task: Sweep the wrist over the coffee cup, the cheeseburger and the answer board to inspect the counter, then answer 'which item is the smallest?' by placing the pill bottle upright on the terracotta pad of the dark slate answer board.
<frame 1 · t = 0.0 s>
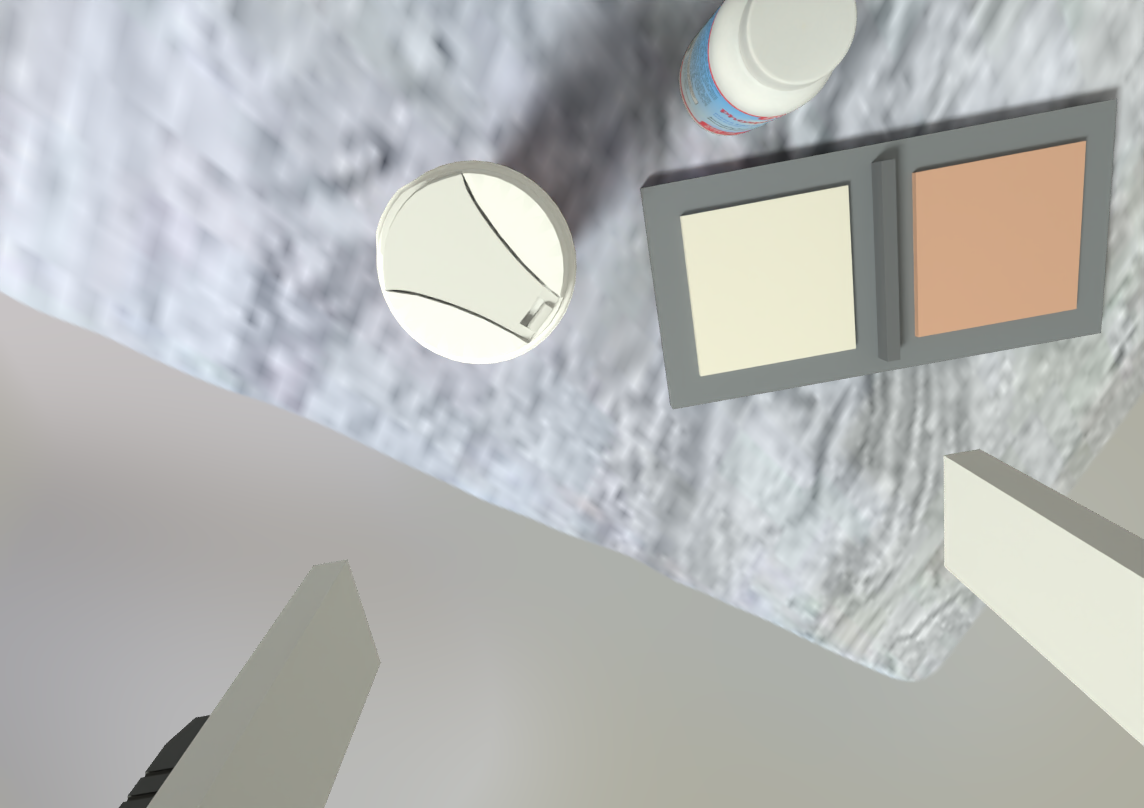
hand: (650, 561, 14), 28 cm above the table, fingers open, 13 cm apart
coffee cup: (502, 248, 39), on the table
pill bottle: (728, 81, 37), on the table
answer board: (873, 262, 40), on the table
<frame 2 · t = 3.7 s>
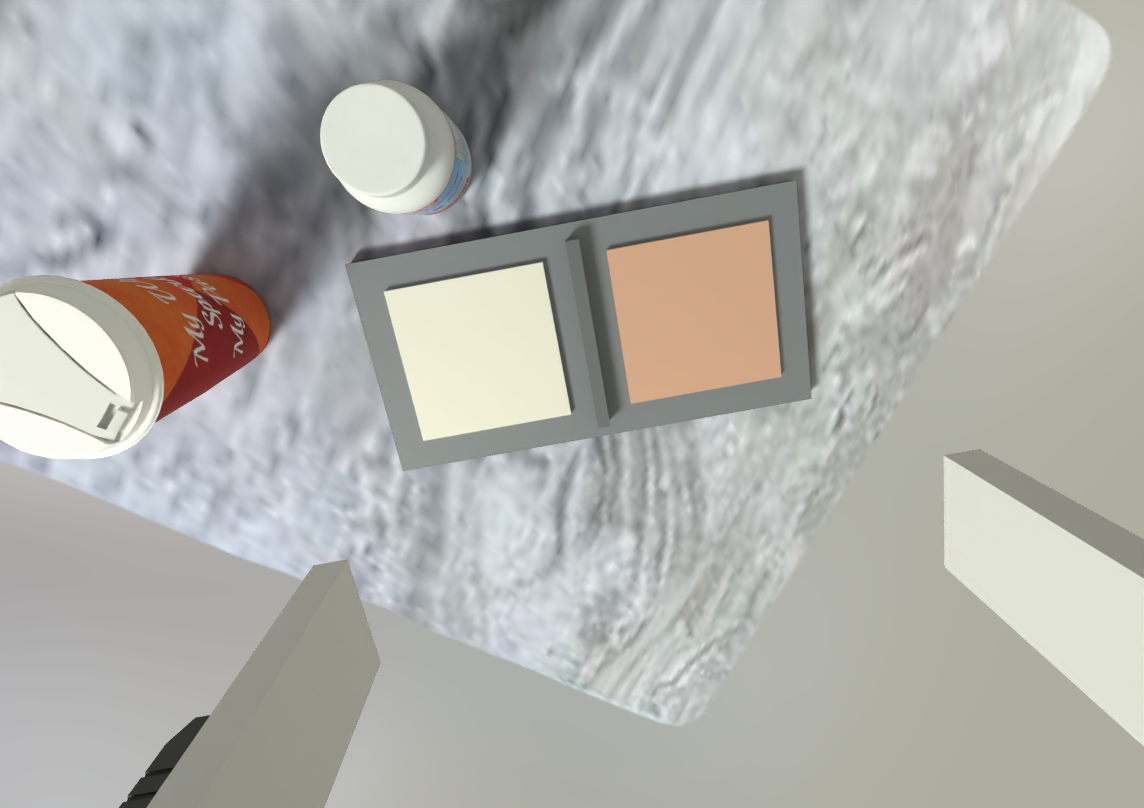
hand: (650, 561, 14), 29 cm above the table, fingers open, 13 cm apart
coffee cup: (224, 319, 40), on the table
pill bottle: (424, 162, 38), on the table
answer board: (587, 331, 41), on the table
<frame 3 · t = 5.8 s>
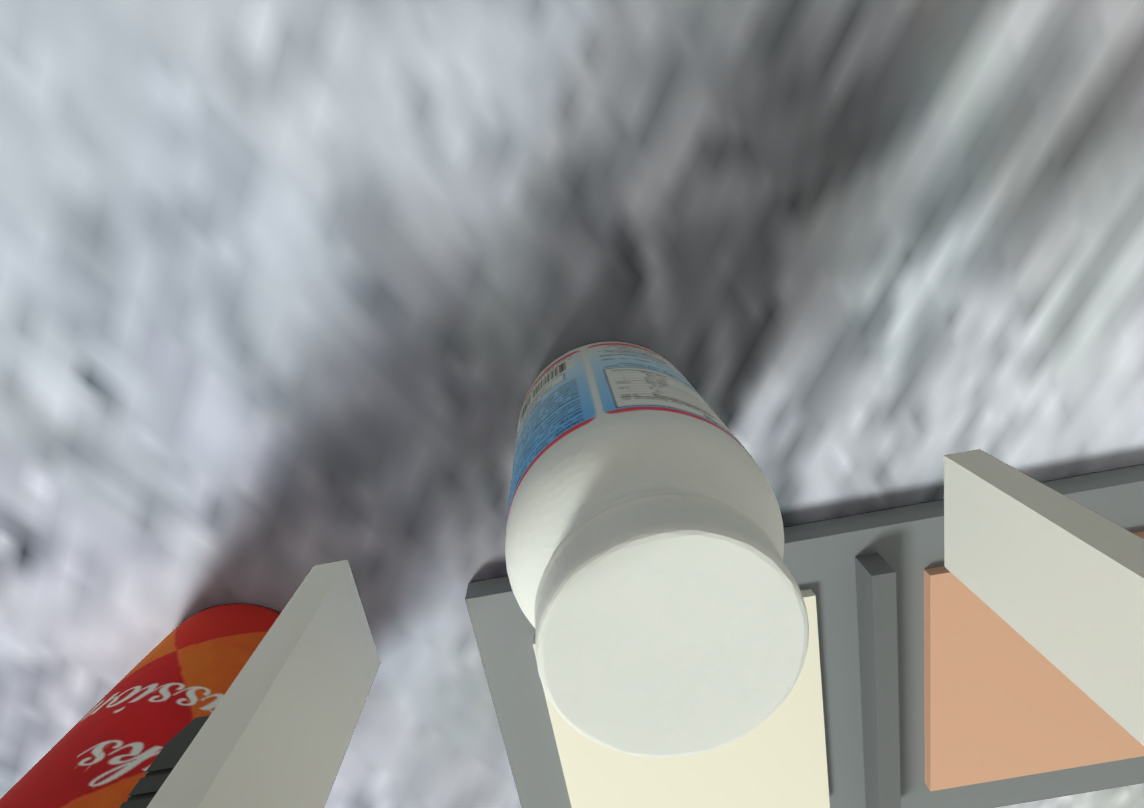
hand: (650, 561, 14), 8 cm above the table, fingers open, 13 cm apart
coffee cup: (248, 665, 24), on the table
pill bottle: (609, 423, 21), on the table
answer board: (858, 672, 25), on the table
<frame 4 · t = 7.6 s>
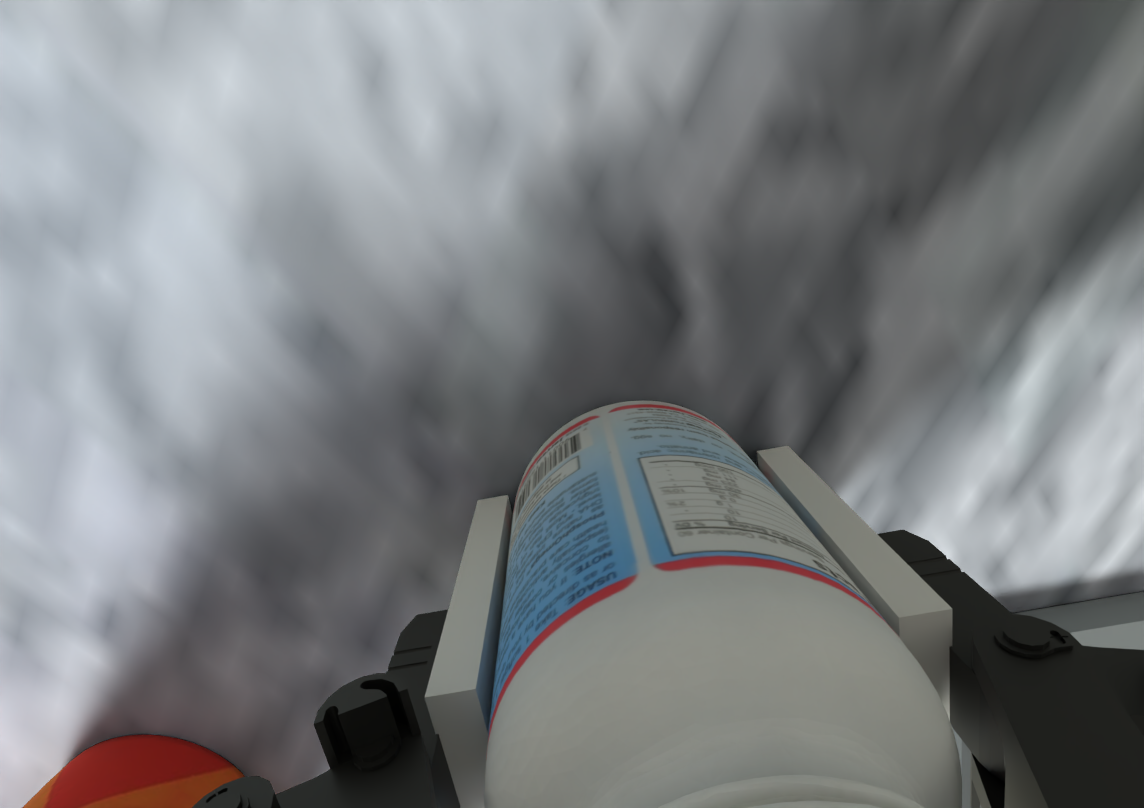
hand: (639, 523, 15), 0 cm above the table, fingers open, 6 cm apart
coffee cup: (163, 807, 18), on the table
pill bottle: (636, 505, 16), on the table, touching gripper
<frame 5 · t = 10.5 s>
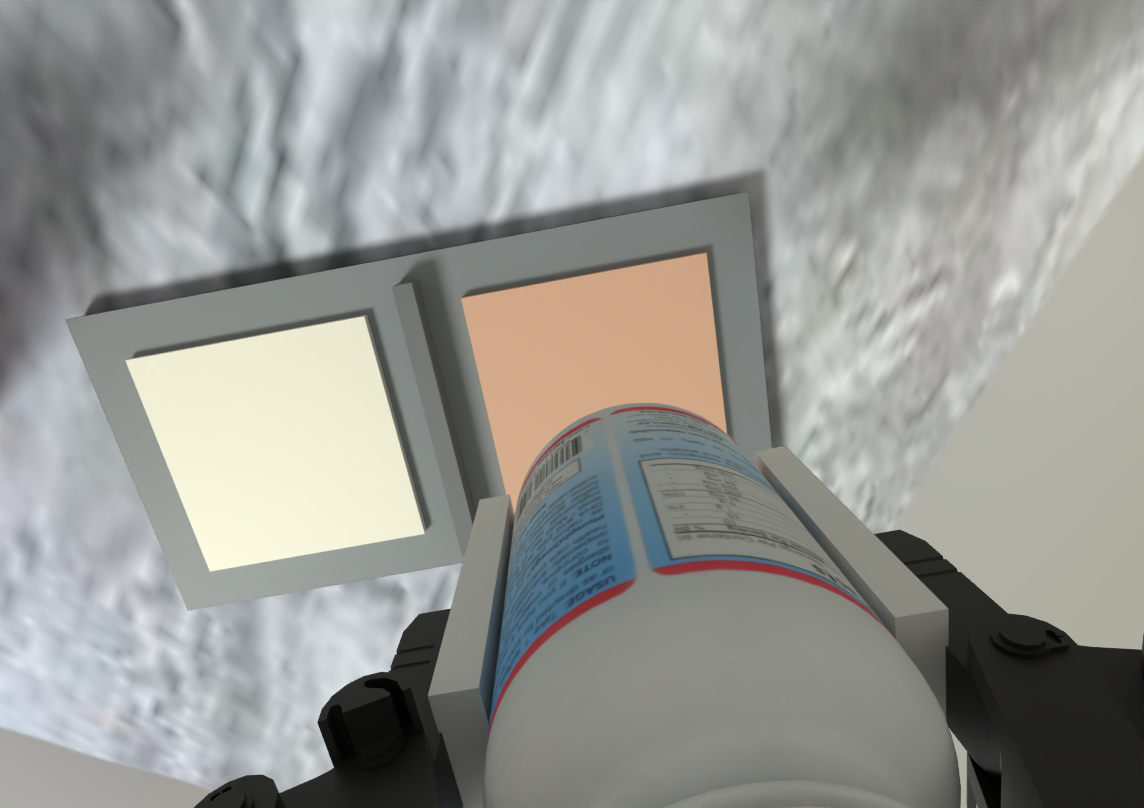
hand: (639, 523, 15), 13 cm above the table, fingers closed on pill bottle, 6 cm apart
pill bottle: (638, 507, 16), point 12 cm above the table, touching gripper
answer board: (447, 412, 28), on the table
when the fingers open (3 cm above the table, at t = 12.9 s): pill bottle drops 1 cm, resting on answer board.
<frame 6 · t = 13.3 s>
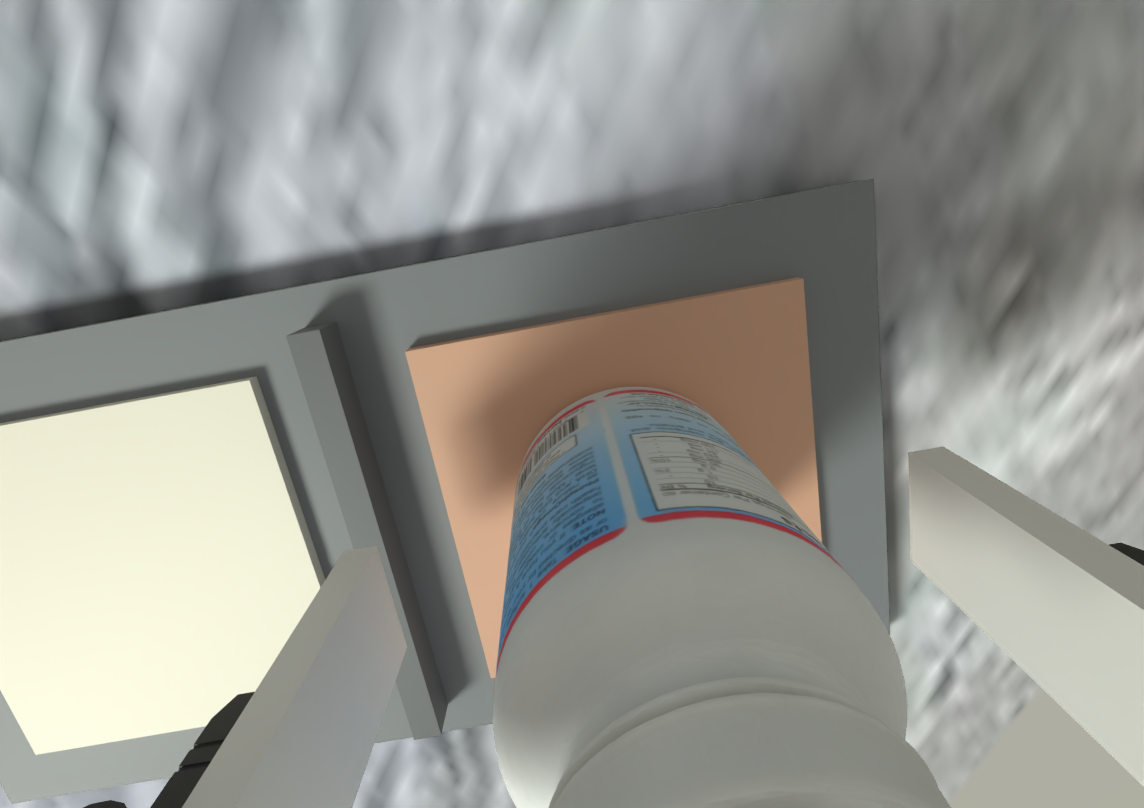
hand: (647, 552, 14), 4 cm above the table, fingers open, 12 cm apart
pill bottle: (630, 486, 17), point 1 cm above the table, touching answer board
answer board: (392, 517, 18), on the table
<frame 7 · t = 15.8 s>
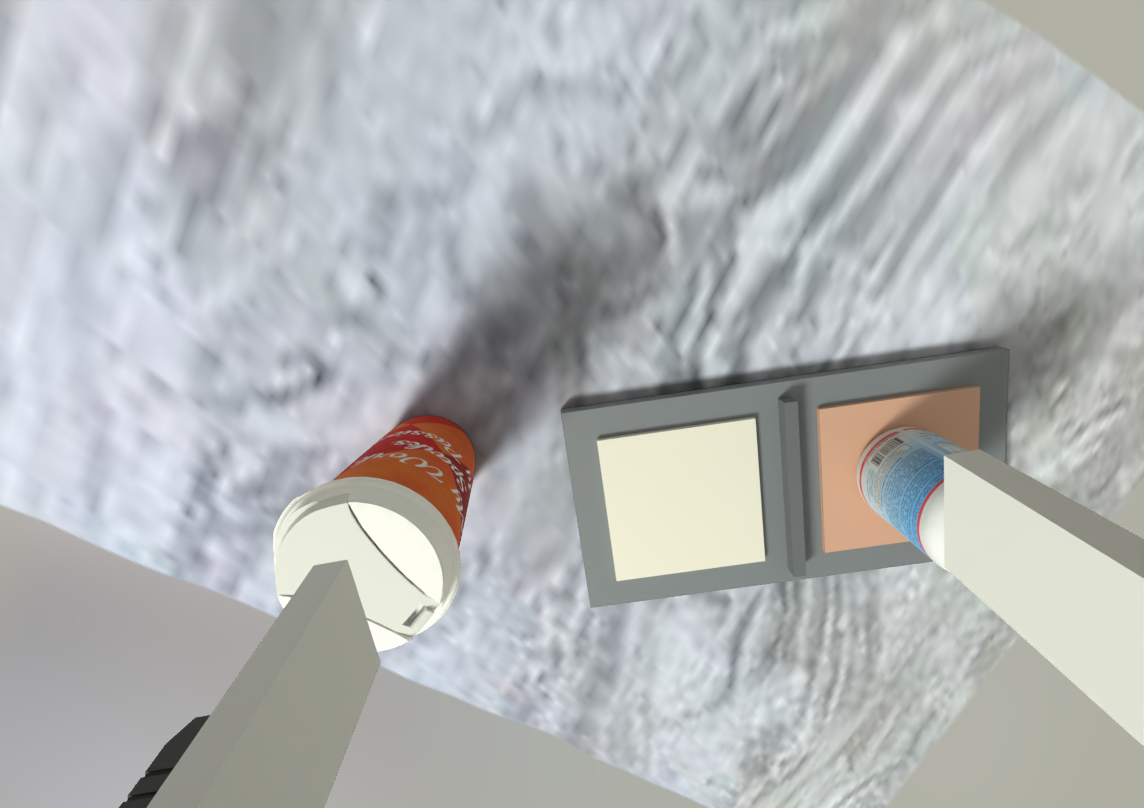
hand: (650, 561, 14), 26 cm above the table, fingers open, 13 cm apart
coffee cup: (429, 456, 41), on the table
pill bottle: (898, 468, 40), point 1 cm above the table, touching answer board
answer board: (783, 479, 42), on the table
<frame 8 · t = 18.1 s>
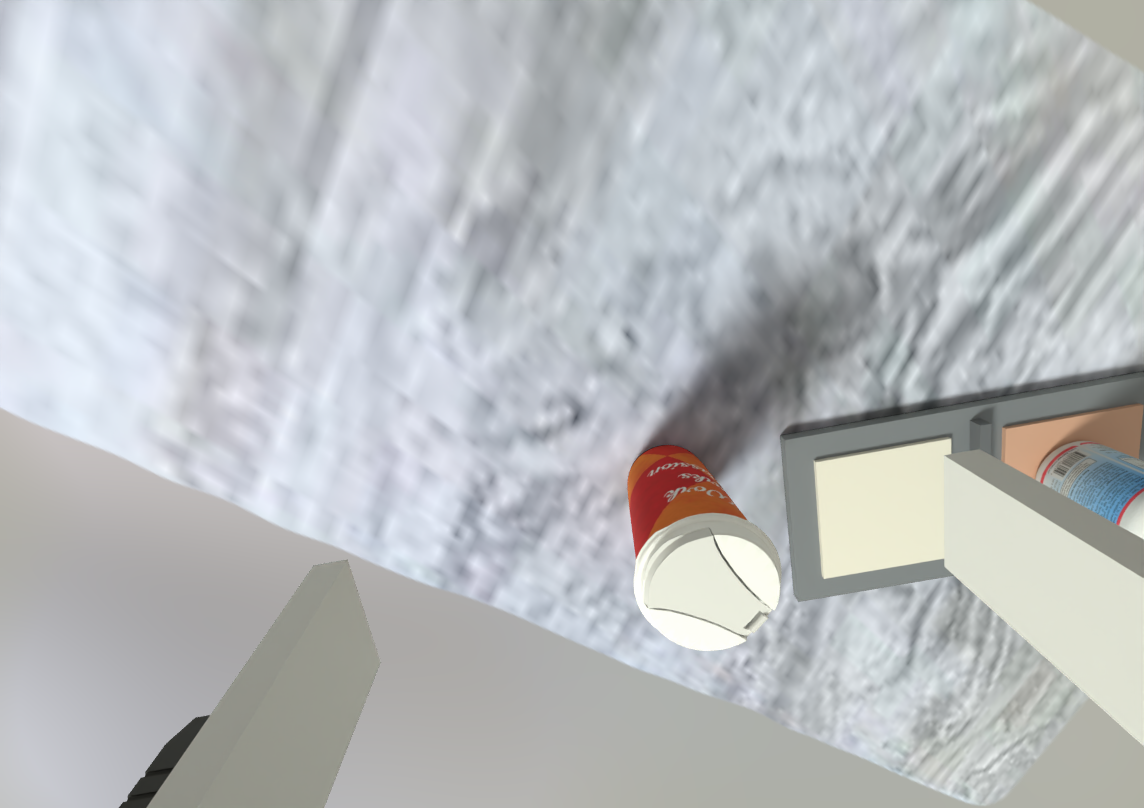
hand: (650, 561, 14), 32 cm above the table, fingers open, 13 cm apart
coffee cup: (664, 479, 48), on the table
pill bottle: (1068, 475, 47), point 1 cm above the table, touching answer board
answer board: (966, 487, 49), on the table
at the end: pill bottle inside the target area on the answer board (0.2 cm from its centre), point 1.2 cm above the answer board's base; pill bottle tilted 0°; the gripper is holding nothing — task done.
